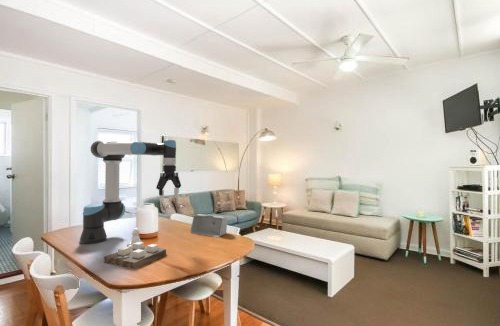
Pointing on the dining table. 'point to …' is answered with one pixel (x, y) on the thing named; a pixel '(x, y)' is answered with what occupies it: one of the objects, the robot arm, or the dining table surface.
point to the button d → (152, 248)
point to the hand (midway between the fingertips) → (169, 199)
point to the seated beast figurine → (134, 237)
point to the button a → (123, 251)
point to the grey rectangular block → (209, 225)
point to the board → (134, 262)
